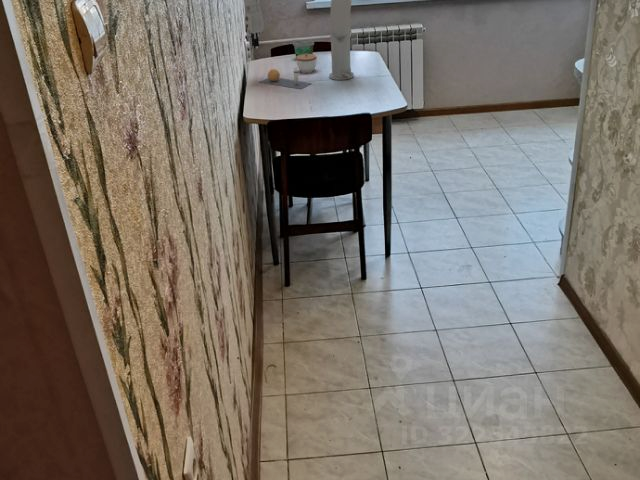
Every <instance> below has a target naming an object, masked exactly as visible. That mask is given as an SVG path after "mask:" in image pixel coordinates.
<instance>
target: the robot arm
mask: <svg viewBox="0 0 640 480" xmlns="http://www.w3.org/2000/svg"><path fill="white" fill-rule="evenodd" d="M243 2H244V3H243V5H244V17H243V18H244V31H245V33H246V37H250V39H251V47H254V48H257V47H259V46H260V43H259V42H260V41H259V38H260V34H261V33H262V32H263V31H264V30H265V23H264V16H263V13H262V9H261V4H260V0H243ZM351 8H352V0H331V2H330V13H329V24H328V25H329V31H330V46H331V47H330V48H331V49H330V51H331V53H330V54H331V55H330V56H331V73H329V74H328V77H329V79H332V80H335V81H345V80H351V79H352V78H354V76H355V74H354V72H352V69H351V21H350V20H351V10H352V9H351Z"/></svg>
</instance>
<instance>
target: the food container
mask: <svg viewBox="0 0 640 480" xmlns="http://www.w3.org/2000/svg"><path fill="white" fill-rule="evenodd" d="M314 45H315V41H314V40H311V41H303V40H301V41H295V40H293V41H292V46H294V53H295V58H296V57H297V56H298V55H302V54H305V53H307V54H314V53H313V52H314Z"/></svg>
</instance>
